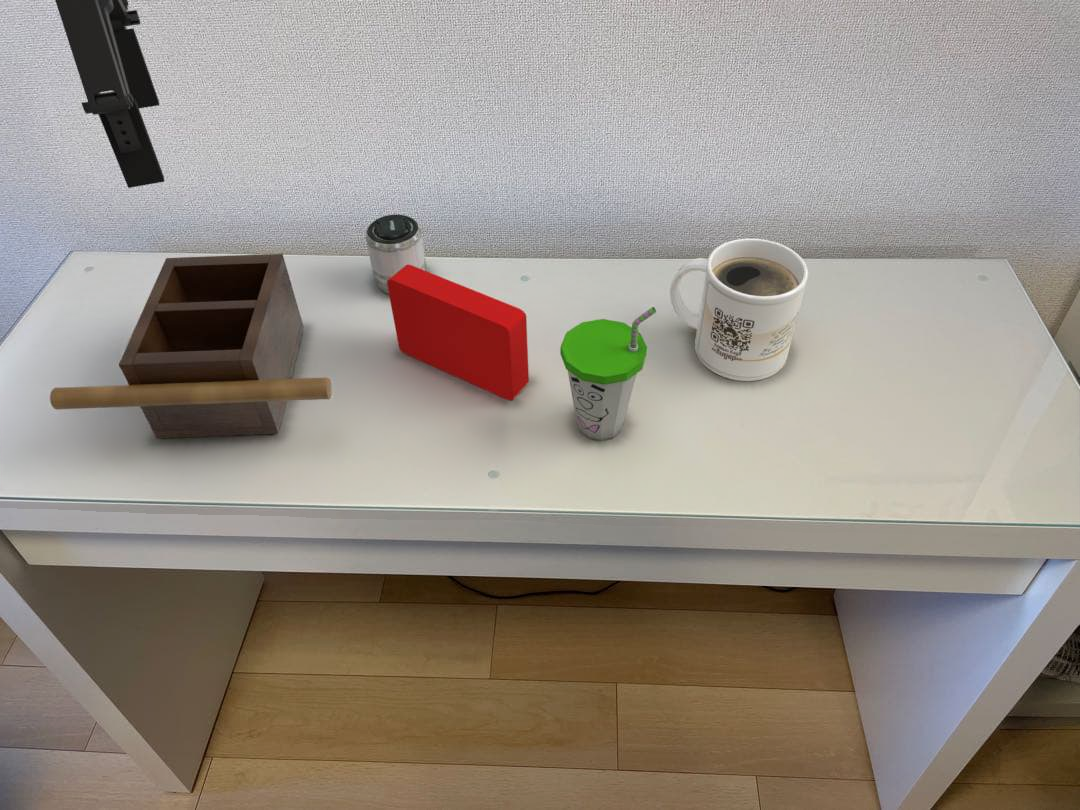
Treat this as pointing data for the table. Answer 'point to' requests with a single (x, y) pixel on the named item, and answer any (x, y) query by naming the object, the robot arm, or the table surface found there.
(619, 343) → the cup
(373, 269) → the camera lens
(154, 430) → the divided box with dowel
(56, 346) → the table surface
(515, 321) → the red rounded slab
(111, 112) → the robot arm
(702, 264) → the mug
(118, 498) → the table surface
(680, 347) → the table surface
